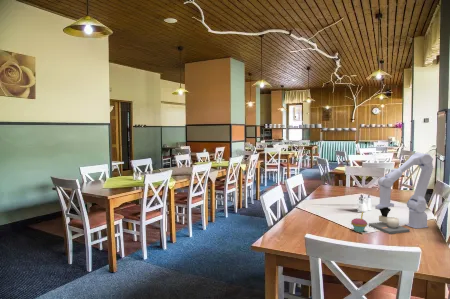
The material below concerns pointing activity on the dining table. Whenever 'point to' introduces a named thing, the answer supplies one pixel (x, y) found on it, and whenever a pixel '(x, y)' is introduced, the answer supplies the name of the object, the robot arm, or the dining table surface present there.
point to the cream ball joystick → (389, 220)
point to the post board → (389, 228)
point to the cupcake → (359, 224)
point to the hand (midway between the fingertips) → (384, 219)
